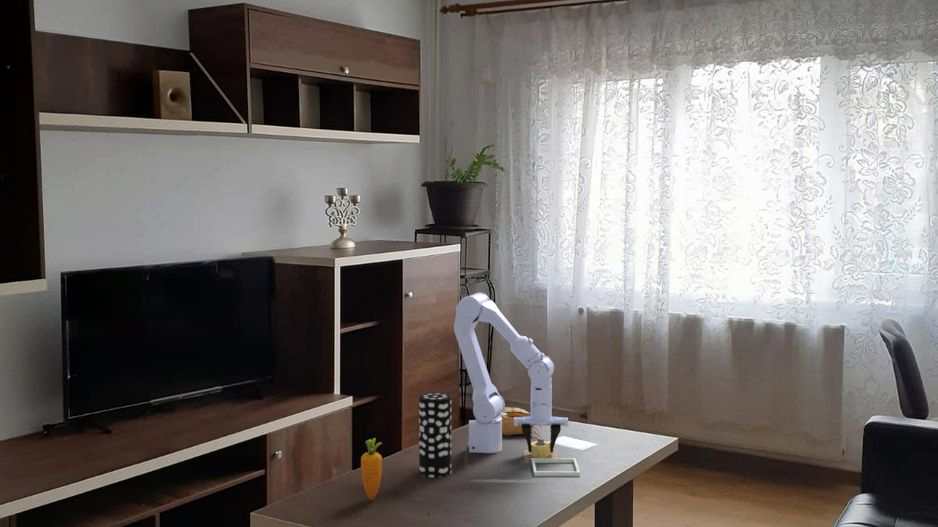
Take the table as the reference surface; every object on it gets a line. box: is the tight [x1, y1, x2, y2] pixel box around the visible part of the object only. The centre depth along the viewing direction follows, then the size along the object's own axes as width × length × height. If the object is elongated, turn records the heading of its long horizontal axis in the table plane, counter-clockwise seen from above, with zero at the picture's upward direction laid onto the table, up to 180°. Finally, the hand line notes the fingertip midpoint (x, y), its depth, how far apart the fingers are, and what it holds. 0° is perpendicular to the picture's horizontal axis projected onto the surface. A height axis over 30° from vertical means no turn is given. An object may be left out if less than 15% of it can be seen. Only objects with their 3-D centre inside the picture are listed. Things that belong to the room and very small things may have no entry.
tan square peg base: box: [522, 437, 559, 461], centre depth 252 cm, size 9×9×5 cm
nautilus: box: [501, 406, 543, 440], centre depth 273 cm, size 8×22×15 cm
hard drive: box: [547, 435, 600, 452], centre depth 263 cm, size 2×8×12 cm
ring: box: [531, 440, 551, 458], centre depth 252 cm, size 5×7×3 cm
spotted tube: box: [418, 392, 452, 478], centre depth 239 cm, size 8×8×20 cm
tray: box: [531, 457, 581, 477], centre depth 241 cm, size 12×12×2 cm
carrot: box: [360, 437, 383, 501], centre depth 219 cm, size 5×5×15 cm
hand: (540, 451), depth 252 cm, fingers closed on ring, 5 cm apart
